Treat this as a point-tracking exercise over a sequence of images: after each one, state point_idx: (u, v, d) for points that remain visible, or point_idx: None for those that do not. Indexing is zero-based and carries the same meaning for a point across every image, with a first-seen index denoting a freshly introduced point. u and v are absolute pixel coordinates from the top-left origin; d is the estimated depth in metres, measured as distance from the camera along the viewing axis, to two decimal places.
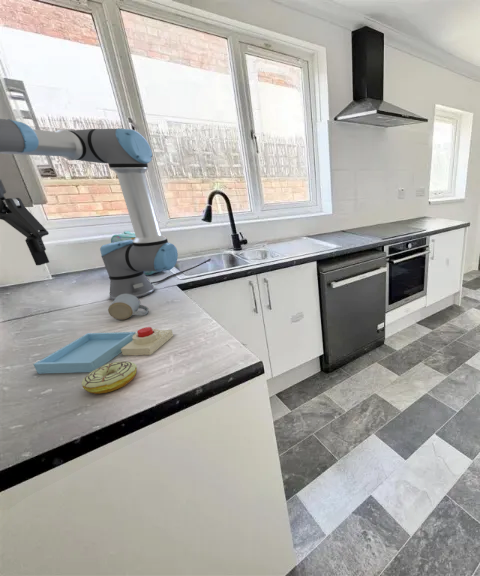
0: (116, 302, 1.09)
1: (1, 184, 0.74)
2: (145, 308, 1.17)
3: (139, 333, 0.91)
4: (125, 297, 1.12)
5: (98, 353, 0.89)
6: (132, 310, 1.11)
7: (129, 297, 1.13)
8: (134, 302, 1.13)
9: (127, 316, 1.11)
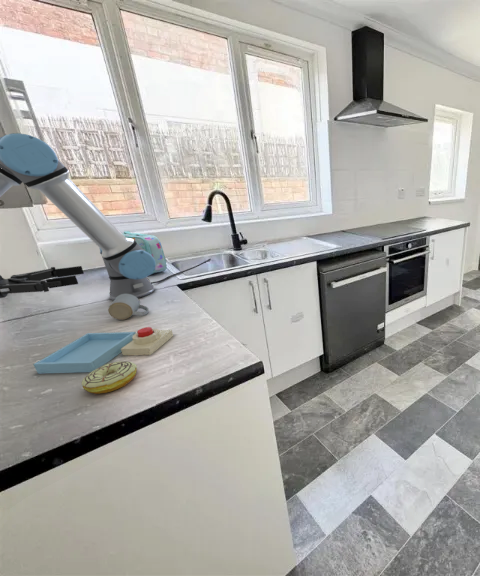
0: (116, 302, 1.09)
1: None
2: (145, 308, 1.17)
3: (139, 333, 0.91)
4: (125, 297, 1.12)
5: (98, 353, 0.89)
6: (132, 310, 1.11)
7: (129, 297, 1.13)
8: (134, 302, 1.13)
9: (127, 316, 1.11)
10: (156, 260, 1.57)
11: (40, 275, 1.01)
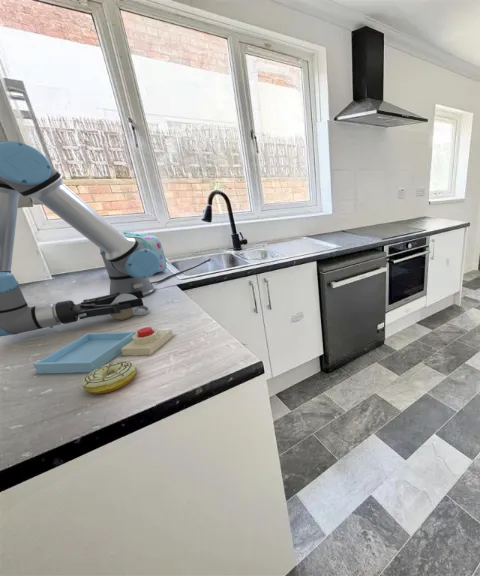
0: (116, 302, 1.09)
1: (62, 311, 1.01)
2: (145, 308, 1.17)
3: (139, 333, 0.91)
4: (125, 297, 1.12)
5: (98, 353, 0.89)
6: (132, 310, 1.11)
7: (129, 296, 1.14)
8: None
9: (127, 316, 1.11)
10: None
11: (106, 300, 1.12)
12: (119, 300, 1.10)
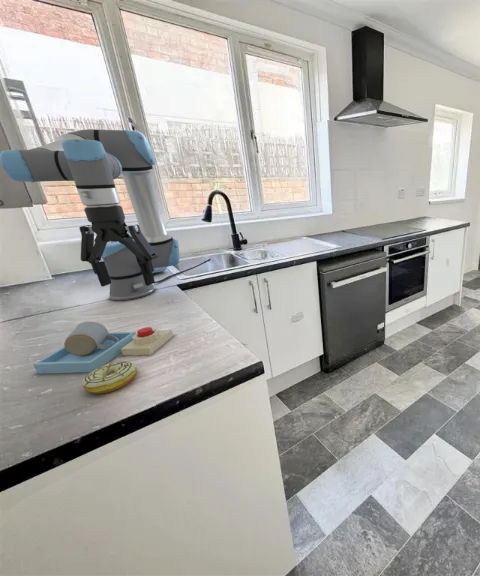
0: (74, 334, 0.85)
1: (122, 211, 0.82)
2: (114, 339, 0.94)
3: (139, 333, 0.91)
4: (87, 326, 0.89)
5: (98, 353, 0.89)
6: (96, 343, 0.88)
7: (93, 326, 0.90)
8: (99, 333, 0.90)
9: (90, 351, 0.87)
10: None
11: (102, 249, 0.84)
12: (78, 331, 0.86)
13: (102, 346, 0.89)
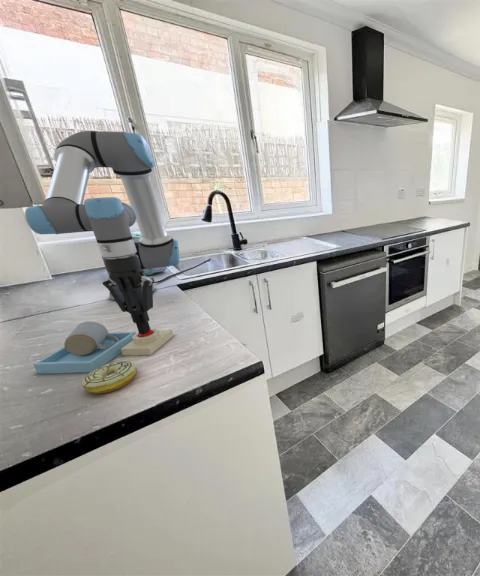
0: (75, 334, 0.85)
1: (138, 260, 0.87)
2: (114, 339, 0.94)
3: (140, 335, 0.92)
4: (87, 326, 0.89)
5: (98, 353, 0.89)
6: (96, 343, 0.88)
7: (93, 326, 0.90)
8: (99, 333, 0.90)
9: (90, 351, 0.87)
10: None
11: (132, 296, 0.89)
12: (78, 331, 0.86)
13: (102, 346, 0.89)
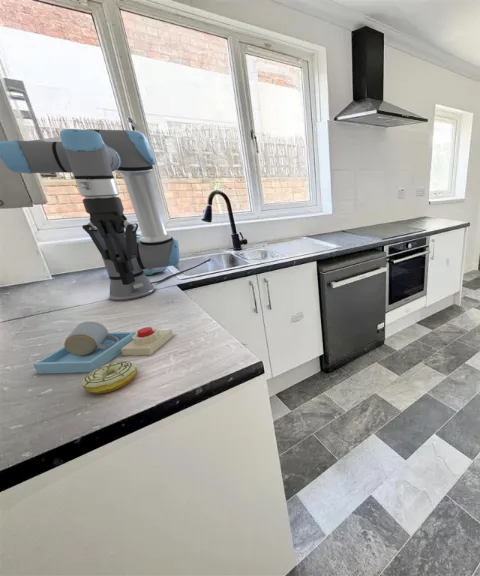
0: (75, 334, 0.85)
1: (121, 203, 0.81)
2: (114, 339, 0.94)
3: (139, 333, 0.91)
4: (87, 326, 0.89)
5: (98, 353, 0.89)
6: (96, 343, 0.88)
7: (93, 326, 0.90)
8: (99, 333, 0.90)
9: (90, 351, 0.87)
10: None
11: (115, 244, 0.84)
12: (78, 331, 0.86)
13: (102, 346, 0.89)
